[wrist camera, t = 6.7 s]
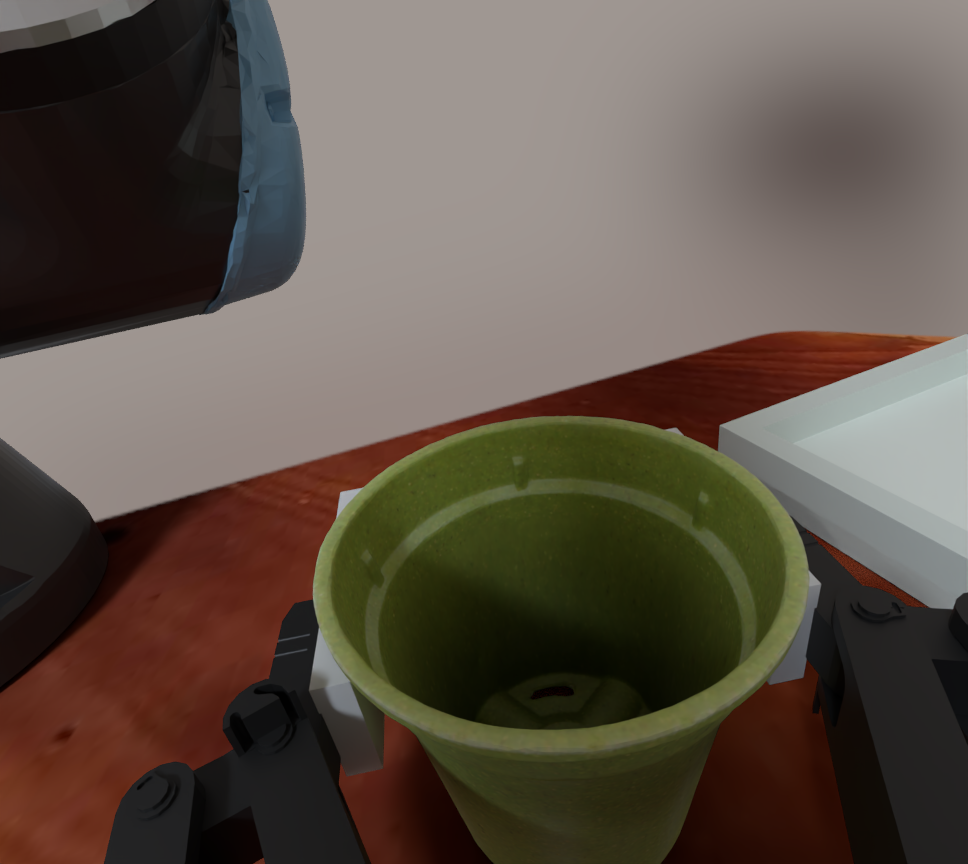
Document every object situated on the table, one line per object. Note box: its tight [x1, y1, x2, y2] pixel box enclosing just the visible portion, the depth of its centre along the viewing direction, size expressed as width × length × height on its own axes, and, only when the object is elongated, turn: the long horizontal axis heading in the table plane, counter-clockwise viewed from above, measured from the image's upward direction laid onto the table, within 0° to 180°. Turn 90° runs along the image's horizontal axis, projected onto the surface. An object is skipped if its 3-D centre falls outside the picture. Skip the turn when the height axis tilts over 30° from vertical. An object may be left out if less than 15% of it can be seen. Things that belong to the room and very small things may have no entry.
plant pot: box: [313, 416, 810, 864], centre depth 14 cm, size 9×9×9 cm
